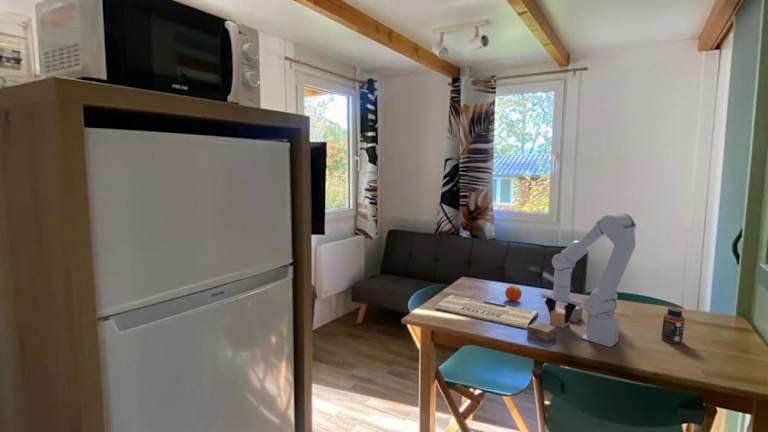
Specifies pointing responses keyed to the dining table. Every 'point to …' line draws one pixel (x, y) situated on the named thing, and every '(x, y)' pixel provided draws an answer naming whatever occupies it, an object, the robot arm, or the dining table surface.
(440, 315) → the dining table surface
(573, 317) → the slate cube
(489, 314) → the newspaper
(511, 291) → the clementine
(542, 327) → the walnut block
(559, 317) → the terracotta cube
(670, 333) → the supplement bottle
